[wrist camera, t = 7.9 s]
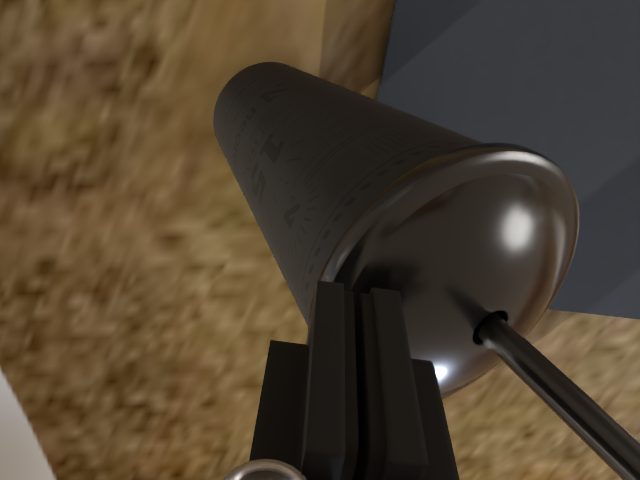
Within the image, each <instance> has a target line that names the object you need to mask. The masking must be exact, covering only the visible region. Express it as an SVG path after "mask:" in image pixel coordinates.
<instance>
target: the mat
mask: <svg viewBox="0 0 640 480" xmlns="http://www.w3.org/2000/svg"><path fill="white" fill-rule="evenodd" d="M376 101H379V102H381V103H384V104H386V105H389V106H391V107H394V108H397V109H399V110H402V111H404V112H407V113H409V114H412V115H414V116H417V117H419V118H422V119H424V120H427V121H429V122H432V123H434V124H437V125H439V126H442V127H444V128H447V129H450V130H452V131H455V132H457V133H460V134H462V135H465V136H467V137H470V138H472V139H475V140H477V141H480V142H482V143H511V144H516V145H520V146H524V147H526V148H529V149H532V150H534V151H536V152H538V153H540V154H542V155H544V156H545V157H547V158H549V159H551V160H552V161H553V162H554V163H556V164H557V165H558V166H559V167H560V168H561V169H562V171H563V172H564V173H565V174H566V176H567V177H568V179H569V181H570V182H571V184H572V186H573V188H574V191H575V194H576V197H577V201H578V207H579V231H578V239H577V244H576V248H575V252H574V255H573V259H572V261H571V264H570V267H569V270H568V272H567V274H566V277H565V279H564V281H563V283H562V285H561V287H560V289H559V291H558V293H557V294H556V296H555V298H554V299H553V301H552V303H551V304H550V306H549V307H548V309H552V310H561V311H570V312H579V313H588V314H597V315H606V316H615V317H624V318H633V319H640V0H395V5H394V10H393V15H392V20H391V25H390V31H389V36H388V41H387V46H386V51H385V56H384V62H383V67H382V72H381V77H380V82H379V87H378V93H377V98H376Z"/></svg>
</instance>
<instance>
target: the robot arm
mask: <svg viewBox="0 0 640 480" xmlns="http://www.w3.org/2000/svg"><path fill="white" fill-rule="evenodd" d="M223 480H459V476H458V471H457V467H456V462H455V457H454V453H453V448H452V444H451V439H450V435H449V430H448V425H447V421H446V416H445V412H444V407H443V403H442V398H441V393H440V389H439V384H438V380H437V375H436V371H435V367H434V364H433V363H432V362H431V361H428V360H420V359H412V358H411V355H410V349H409V343H408V337H407V331H406V325H405V319H404V313H403V307H402V301H401V295H400V292H399V291H395V290H388V289H380V288H373V287H372V288H371V291H370V294H364V293H361V294H360V297H359V301H358V306H357V310H356V315H355V319H354V293H353V292H349V291H344V284H343V283H335V282H328V281H321V280H317V282H316V288H315V294H314V300H313V306H312V312H311V318H310V324H309V330H308V336H307V342H306V345H304V344H297V343H289V342H281V341H274V340H271V342H270V346H269V352H268V358H267V363H266V369H265V375H264V380H263V386H262V392H261V397H260V403H259V409H258V414H257V420H256V426H255V431H254V437H253V443H252V448H251V454H250V460H249V461H248V462H246V463H244V464H242V465H240V466H238V467H235V468H234V469H233V470H232V471H231V472H230V473H229V474H228V475H227V476H225V477H224V479H223Z"/></svg>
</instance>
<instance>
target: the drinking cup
mask: <svg viewBox="0 0 640 480" xmlns="http://www.w3.org/2000/svg"><path fill="white" fill-rule="evenodd" d="M214 130H215V135H216V137H217V140H218V142H219V145H220V147H221V149H222V151H223V153H224V155H225V157H226V159H227V161H228V163H229V165H230V167H231V169H232V171H233V173H234V175H235V177H236V179H237V182H238V184H239V186H240V188H241V190H242V192H243V194H244V196H245V198H246V200H247V202H248V204H249V206H250V208H251V210H252V212H253V214H254V216H255V218H256V220H257V223H258V225H259V227H260V229H261V231H262V233H263V235H264V237H265V239H266V241H267V243H268V245H269V247H270V249H271V251H272V253H273V255H274V257H275V259H276V262H277V264H278V266H279V268H280V270H281V272H282V274H283V276H284V278H285V280H286V282H287V284H288V286H289V288H290V290H291V292H292V294H293V296H294V298H295V300H296V303H297V305H298V307H299V309H300V311H301V313H302V315H303V317H304V319H305V321H306V323H307V325H308V330H309V324H310V318H311V312H312V306H313V300H314V294H315V288H316V282H317V280H321V281H328V282H335V283H343V284H344V291H349V292H353V293H354V319H355V315H356V310H357V306H358V301H359V297H360V294H361V293H364V294H370V291H371V288H372V287H373V288H380V289H388V290H395V291H399V292H400V295H401V301H402V307H403V313H404V319H405V325H406V331H407V337H408V343H409V349H410V355H411V358H412V359H420V360H428V361H431V362H432V363H433V364H434V367H435V371H436V375H437V380H438V384H439V389H440V393H441V398H444V397H446V396H448V395H450V394H452V393H454V392H456V391H458V390H460V389H462V388H463V387H465V386H467V385H468V384H470V383H472V382H473V381H475V380H476V379H478V378H479V377H481V376H482V375H484V374H485V373H486V372H488V371H489V370H490V369H492V368H493V367H494V366H495V365H497V364H498V363H499V362H500V361H501V360H502V361H503V362H504V363H505V364H506V365H507V366H508V367H509V368H510V369H511V370H512V371H513V372H514V373H515V374H516V375H517V376H519V377H520V378H521V379H522V380H523V381H524V382H525V383H526V384H527V385H528V386H529V387H530V388H531V389H532V390H533V391H534V392H535V393H536V394H537V395H538V396H539V397H540V398H541V399H542V400H543V401H544V402H545V403H546V404H547V405H548V406H549V407H550V408H551V409H552V410H553V411H554V412H555V413H556V414H557V415H558V416H559V417H560V418H561V419H562V420H563V421H564V422H565V423H566V424H567V425H568V426H569V427H570V428H571V429H572V430H573V431H574V432H575V433H576V434H577V435H578V436H579V437H580V438H581V439H582V440H583V441H584V442H585V443H586V444H587V445H588V446H589V447H590V448H591V449H592V450H593V451H594V452H595V453H596V454H597V455H598V456H599V457H600V458H601V459H602V460H603V461H604V462H605V463H606V464H607V465H608V466H609V467H610V468H611V469H612V470H613V471H614V472H615V473H617V474H618V475H619V476H620V477H621V478H622V479H623V480H640V442H639V441H638V440H637V439H636V438H635V437H634V436H632V435H631V434H630V433H629V432H628V431H627V430H626V429H625V428H624V427H622V426H621V425H620V424H619V423H618V422H617V421H616V420H615V419H614V418H612V417H611V416H610V415H609V414H608V413H607V412H606V411H605V410H604V409H602V408H601V407H600V406H599V405H598V404H597V403H596V402H595V401H594V400H592V399H591V398H590V397H589V396H588V395H587V394H586V393H585V392H584V391H582V390H581V389H580V388H579V387H578V386H577V385H576V384H575V383H574V382H572V381H571V380H570V379H569V378H568V377H567V376H566V375H565V374H564V373H562V372H561V371H560V370H559V369H558V368H557V367H556V366H555V365H554V364H552V363H551V362H550V361H549V360H548V359H547V358H546V357H545V356H544V355H542V354H541V353H540V352H539V351H538V350H537V349H536V348H535V347H534V346H532V345H531V344H530V343H529V342H528V341H527V340H526V339H525V337H526V336H527V335H528V333H529V332H530V331H531V330H532V329H533V328H534V326H535V325H536V324H537V323H538V321H539V320H540V319H541V317H542V316H543V315H544V313H545V312H546V310H547V309H548V307H549V306H550V304H551V303H552V301H553V299H554V298H555V296H556V294H557V293H558V291H559V289H560V287H561V285H562V283H563V281H564V279H565V277H566V274H567V272H568V270H569V267H570V264H571V261H572V259H573V255H574V252H575V248H576V244H577V239H578V231H579V207H578V201H577V197H576V194H575V191H574V188H573V186H572V184H571V182H570V181H569V179H568V177H567V176H566V174H565V173H564V172H563V171H562V169H561V168H560V167H559V166H558V165H557V164H556V163H554V162H553V161H552V160H551V159H549V158H547V157H545V156H544V155H542V154H540V153H538V152H536V151H534V150H532V149H529V148H526V147H524V146H520V145H516V144H511V143H482V142H480V141H477V140H475V139H472V138H470V137H467V136H465V135H462V134H460V133H457V132H455V131H452V130H450V129H447V128H444V127H442V126H439V125H437V124H434V123H432V122H429V121H427V120H424V119H422V118H419V117H417V116H414V115H412V114H409V113H407V112H404V111H402V110H399V109H397V108H394V107H391V106H389V105H386V104H384V103H381V102H379V101H376V100H374V99H371V98H369V97H366V96H364V95H361V94H359V93H356V92H354V91H351V90H349V89H346V88H343V87H341V86H338V85H336V84H333V83H331V82H328V81H326V80H323V79H321V78H318V77H316V76H313V75H311V74H308V73H306V72H303V71H301V70H298V69H295V68H293V67H290V66H288V65H285V64H281V63H276V62H264V63H258V64H255V65H252V66H249V67H247V68H245V69H243V70H242V71H240V72H239V73H237V74H236V75H235V76H234V77H233V78H231V79H230V80H229V82H228V83H227V84H226V85H225V87H224V88H223V90H222V91H221V93H220V95H219V97H218V100H217V102H216V106H215V111H214Z"/></svg>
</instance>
